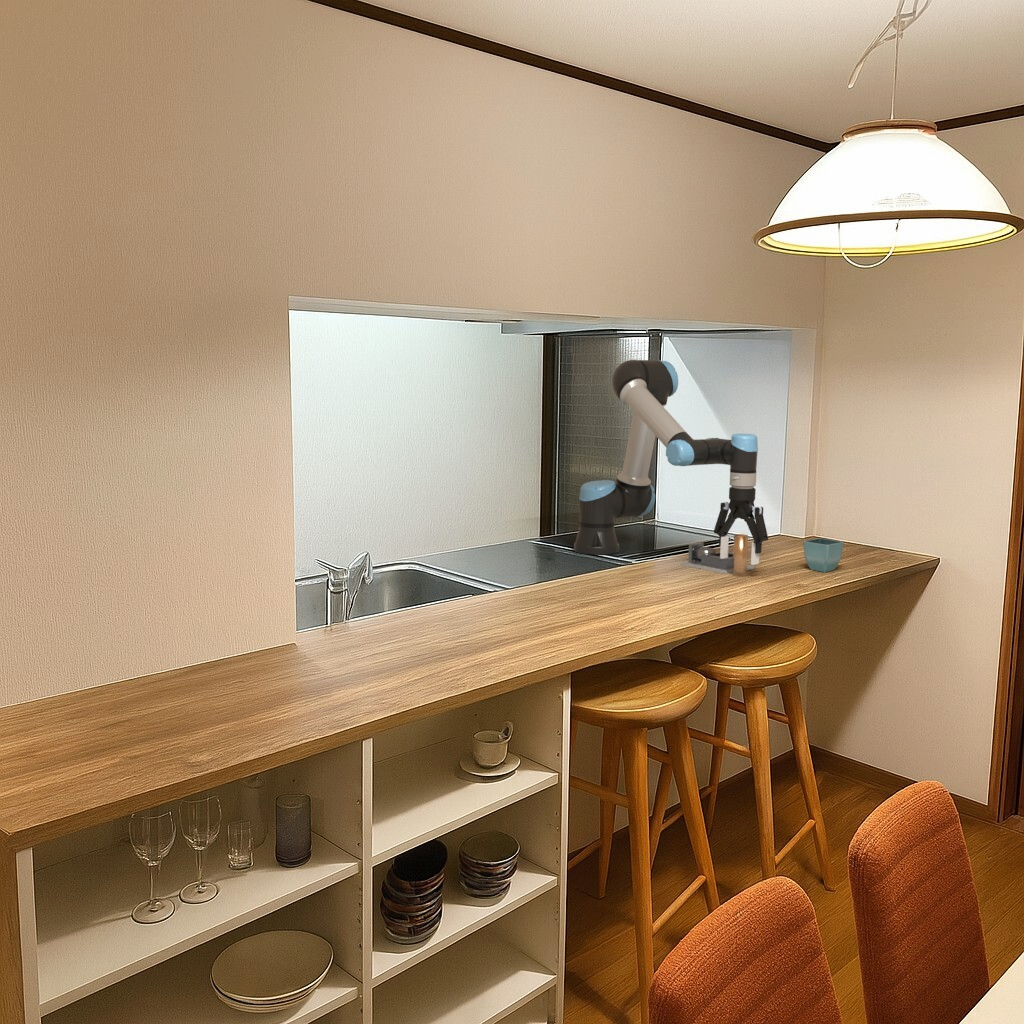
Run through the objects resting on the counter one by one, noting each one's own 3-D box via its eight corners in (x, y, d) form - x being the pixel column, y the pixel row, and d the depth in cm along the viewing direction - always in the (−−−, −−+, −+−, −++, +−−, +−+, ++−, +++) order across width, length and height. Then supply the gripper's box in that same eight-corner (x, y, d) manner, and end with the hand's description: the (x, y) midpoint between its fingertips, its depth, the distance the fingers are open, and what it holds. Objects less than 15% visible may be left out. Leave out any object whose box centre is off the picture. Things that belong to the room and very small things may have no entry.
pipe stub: (729, 574, 289) (731, 534, 287) (738, 573, 291) (740, 533, 290) (740, 577, 286) (742, 536, 284) (749, 575, 288) (750, 535, 287)
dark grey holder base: (680, 564, 305) (680, 545, 304) (707, 559, 313) (708, 541, 312) (726, 573, 290) (727, 553, 290) (754, 568, 298) (755, 549, 298)
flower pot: (826, 574, 290) (828, 544, 289) (801, 570, 297) (802, 540, 296) (843, 571, 296) (844, 541, 295) (817, 566, 303) (819, 538, 301)
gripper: (703, 483, 292) (700, 556, 295) (767, 491, 274) (763, 568, 277) (719, 482, 296) (716, 553, 300) (783, 490, 279) (779, 565, 282)
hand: (739, 561), depth 288 cm, fingers open, 11 cm apart
